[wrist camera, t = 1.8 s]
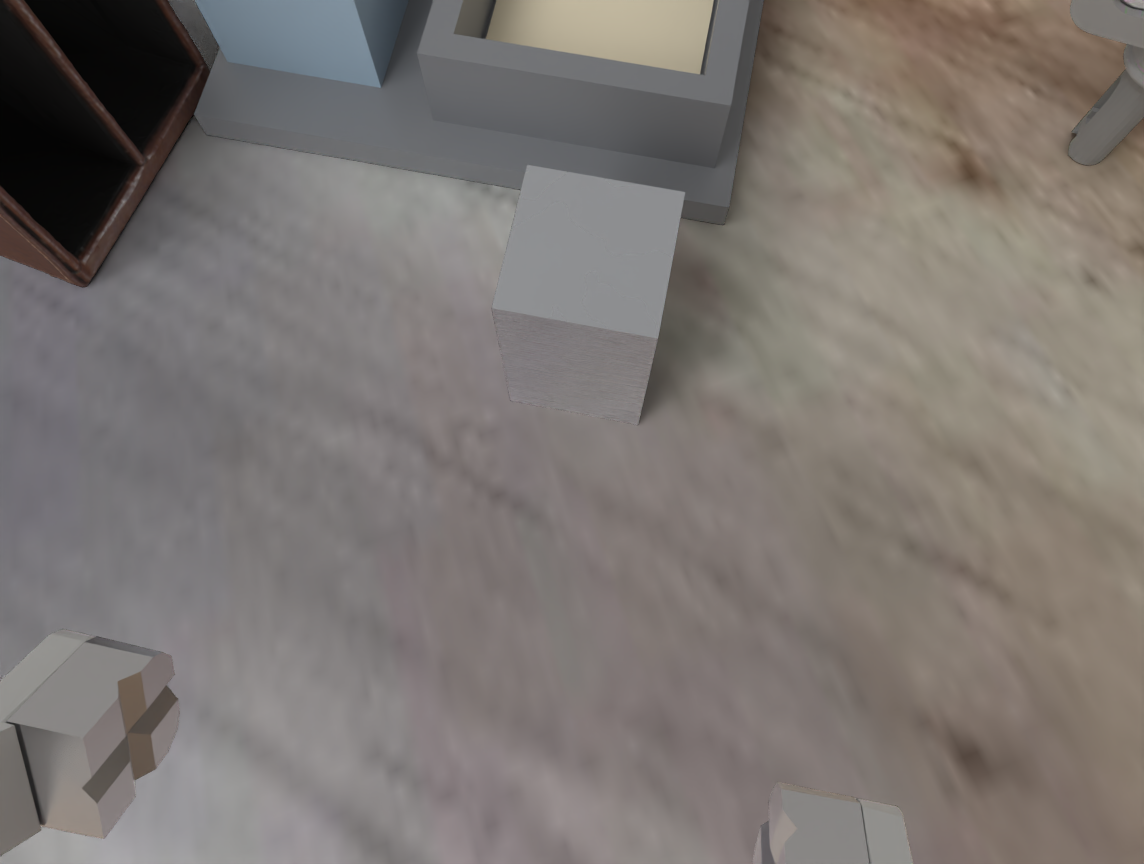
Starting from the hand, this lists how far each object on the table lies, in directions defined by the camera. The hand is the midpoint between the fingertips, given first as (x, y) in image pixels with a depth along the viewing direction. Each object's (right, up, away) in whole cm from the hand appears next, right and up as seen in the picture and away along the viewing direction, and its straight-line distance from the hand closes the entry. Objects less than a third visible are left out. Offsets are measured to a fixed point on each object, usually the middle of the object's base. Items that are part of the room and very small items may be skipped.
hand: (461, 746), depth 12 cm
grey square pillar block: (+2, +7, +20) cm, 21 cm away
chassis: (-1, +20, +24) cm, 31 cm away
